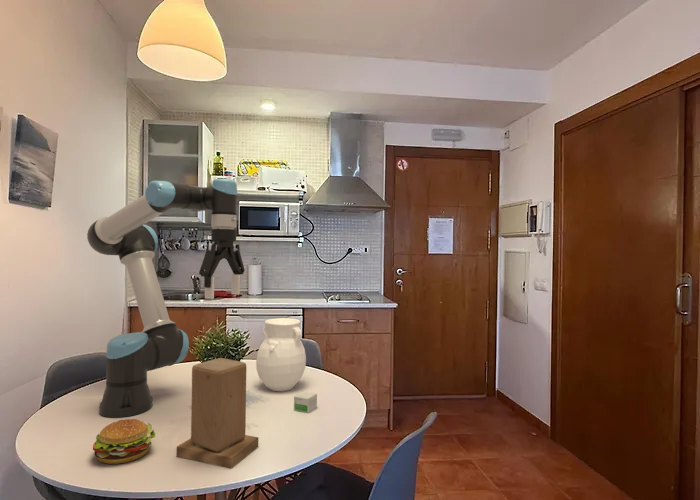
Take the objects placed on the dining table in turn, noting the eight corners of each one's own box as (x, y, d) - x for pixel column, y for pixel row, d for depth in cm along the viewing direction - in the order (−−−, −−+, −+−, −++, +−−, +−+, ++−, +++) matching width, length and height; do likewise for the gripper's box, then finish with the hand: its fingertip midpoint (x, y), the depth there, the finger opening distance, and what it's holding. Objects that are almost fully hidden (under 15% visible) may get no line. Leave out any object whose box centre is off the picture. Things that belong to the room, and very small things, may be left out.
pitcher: (315, 385, 166) (316, 319, 166) (283, 398, 151) (284, 326, 151) (278, 376, 176) (279, 315, 176) (245, 388, 161) (246, 321, 161)
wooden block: (217, 454, 104) (218, 370, 104) (189, 444, 109) (190, 364, 109) (246, 438, 113) (248, 361, 113) (219, 430, 118) (220, 356, 118)
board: (176, 456, 108) (176, 446, 108) (207, 437, 120) (207, 427, 119) (231, 468, 103) (231, 457, 103) (258, 446, 114) (258, 436, 114)
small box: (293, 410, 140) (293, 395, 140) (302, 405, 145) (302, 390, 145) (308, 413, 138) (308, 398, 138) (317, 408, 143) (317, 393, 143)
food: (149, 464, 104) (150, 431, 104) (84, 469, 101) (85, 435, 101) (161, 439, 118) (162, 410, 118) (104, 443, 115) (105, 413, 115)
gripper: (208, 226, 124) (207, 301, 124) (255, 230, 147) (254, 293, 147) (187, 226, 126) (186, 299, 126) (236, 230, 150) (235, 292, 150)
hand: (223, 296), depth 137 cm, fingers open, 13 cm apart
